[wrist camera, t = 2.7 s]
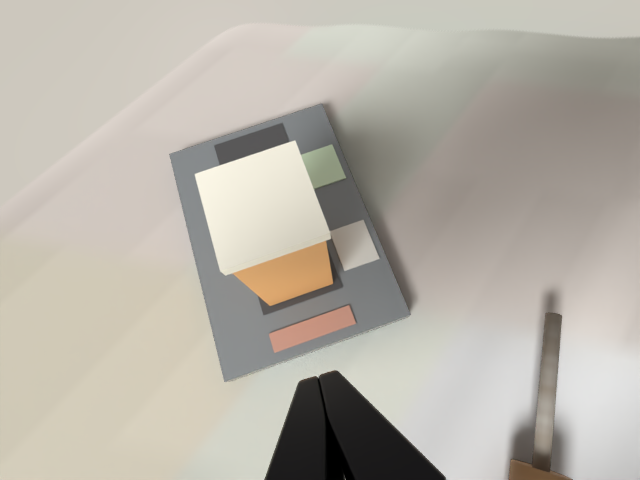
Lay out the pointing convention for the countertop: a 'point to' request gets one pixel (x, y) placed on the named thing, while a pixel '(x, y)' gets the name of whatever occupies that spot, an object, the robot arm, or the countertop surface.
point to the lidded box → (267, 223)
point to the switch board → (343, 248)
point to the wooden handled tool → (544, 409)
